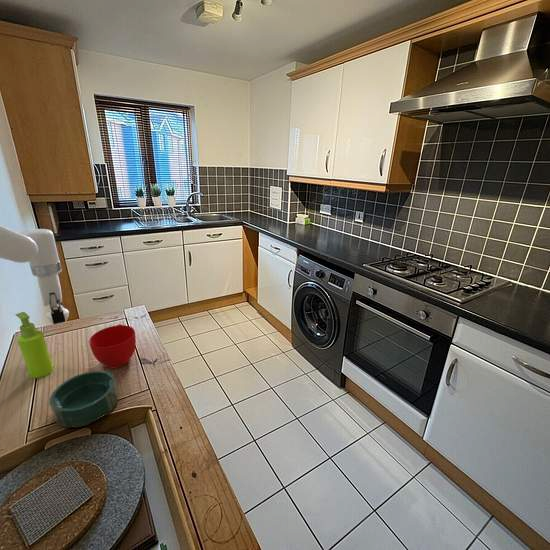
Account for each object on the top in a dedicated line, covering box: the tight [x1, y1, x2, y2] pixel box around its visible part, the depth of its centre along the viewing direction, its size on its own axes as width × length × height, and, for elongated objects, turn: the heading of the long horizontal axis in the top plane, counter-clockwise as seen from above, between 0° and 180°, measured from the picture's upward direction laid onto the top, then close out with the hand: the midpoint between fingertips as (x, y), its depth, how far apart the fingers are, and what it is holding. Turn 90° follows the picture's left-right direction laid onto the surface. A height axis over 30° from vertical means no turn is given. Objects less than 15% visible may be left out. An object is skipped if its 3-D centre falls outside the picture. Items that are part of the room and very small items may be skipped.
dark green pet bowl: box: [49, 370, 120, 428], centre depth 78 cm, size 15×15×6 cm
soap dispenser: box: [15, 311, 54, 379], centre depth 88 cm, size 6×7×20 cm
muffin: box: [46, 304, 70, 327], centre depth 98 cm, size 6×6×7 cm
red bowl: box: [88, 323, 137, 369], centre depth 96 cm, size 13×17×10 cm
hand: (58, 318), depth 98 cm, fingers closed on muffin, 6 cm apart
